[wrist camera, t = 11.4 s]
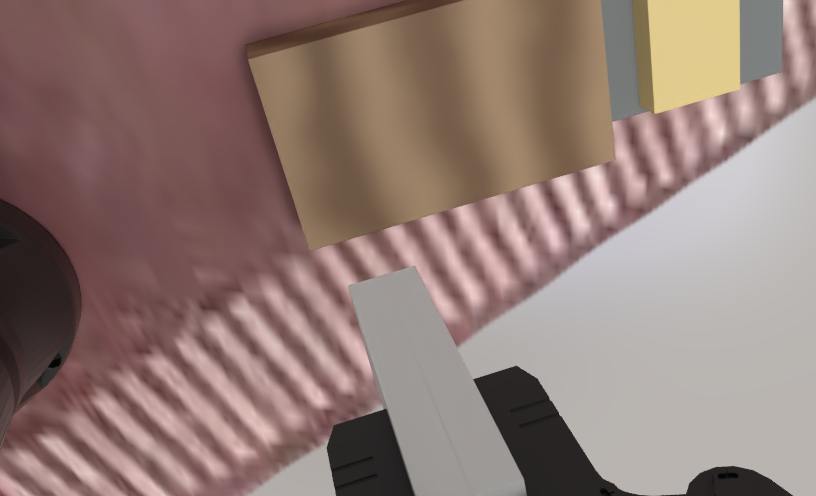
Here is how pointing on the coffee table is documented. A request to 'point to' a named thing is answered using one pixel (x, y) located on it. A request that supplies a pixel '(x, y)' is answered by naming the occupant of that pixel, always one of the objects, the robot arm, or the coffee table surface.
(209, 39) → the coffee table surface
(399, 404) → the robot arm
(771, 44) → the mat
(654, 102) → the yellow rectangular block
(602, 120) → the deck
